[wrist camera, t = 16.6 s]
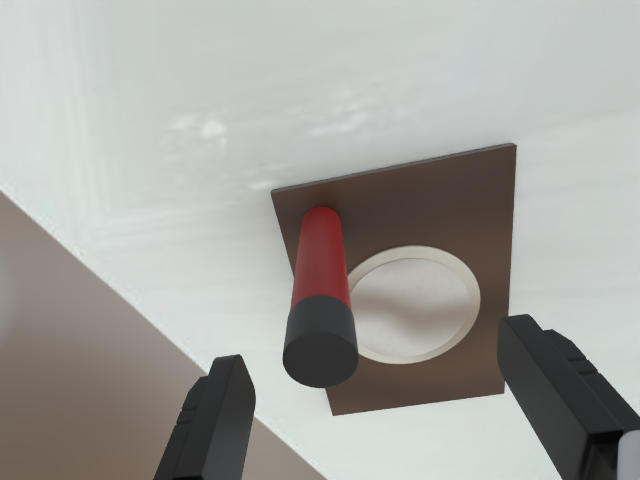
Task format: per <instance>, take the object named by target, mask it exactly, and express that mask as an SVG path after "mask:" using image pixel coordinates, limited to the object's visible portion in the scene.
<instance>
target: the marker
mask: <svg viewBox="0 0 640 480" xmlns="http://www.w3.org/2000/svg"><path fill="white" fill-rule="evenodd" d="M358 364H359V353H358V345H357V337H356V330H355V322H354V316H353V313H352V309H351V301H350V293H349V285H348V277H347V269H346V261H345V253H344V245H343V237H342V229H341V221H340V218H339V216H338V215H337V213H336V212H335V211H333V210H332V209H330V208H327V207H315V208H312V209H311V210H309V211H308V212H307V213H306V214H305V215H304V217H303V219H302V224H301V231H300V239H299V247H298V255H297V262H296V270H295V278H294V285H293V293H292V301H291V308H290V313H289V316H288V321H287V328H286V336H285V343H284V350H283V365H284V367H285V370H286V371H287V373H288V374H289V375H290V377H291V378H293V379H294V380H295V381H297V382H299V383H300V384H303V385H305V386H309V387H314V388H328V387H333V386H337V385H339V384H341V383H343V382H345V381H347V380H348V379H349V378H350V377H351V376H352V375H353V374H354V373H355V371H356V369H357V367H358Z"/></svg>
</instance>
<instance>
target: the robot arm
mask: <svg viewBox="0 0 640 480" xmlns="http://www.w3.org/2000/svg"><path fill="white" fill-rule="evenodd" d="M497 362H498V366H499V369H500V371H501V374H502V376H503V378H504V379H505V381H506V383H507V384H508V386H509V388H510V390H511V391H512V393H513V395H514V397H515V398H516V400H517V402H518V403H519V405H520V407H521V409H522V410H523V412H524V414H525V416H526V417H527V419H528V421H529V422H530V424H531V426H532V428H533V429H534V431H535V433H536V435H537V436H538V438H539V440H540V441H541V443H542V445H543V447H544V448H545V450H546V452H547V454H548V455H549V457H550V459H551V460H552V462H553V464H554V466H555V467H556V469H557V471H558V473H559V474H560V476H561V478H562V479H563V480H640V417H639V415H638V414H637V413H636V412H635V411H634V410H633V409H632V408H631V407H630V405H629V404H628V403H627V402H626V401H625V400H624V399H623V398H622V397H621V395H620V394H619V393H618V392H617V391H616V390H615V389H614V388H613V387H612V385H611V384H610V383H609V382H608V381H607V380H606V379H605V378H604V377H603V375H602V374H601V373H598V371H597V369H596V368H595V367H594V365H593V364H592V363H591V362H590V361H589V360H587V359H586V357H585V355H584V354H583V353H582V352H581V351H580V350H579V349H578V348H577V347H576V345H575V344H574V343H573V342H572V341H570V340H569V339H567V338H566V337H564V336H562V335H561V334H559V333H558V332H556V331H554V330H553V329H551V330H544V331H543V330H542V329H541V327H540V326H539V325H538V324H537V323H536V321H535V320H534V319H533V318H532V317H531V316H530V315H528V314H523V315H516V316H509V317H502V318H500V319H499V322H498V337H497ZM255 403H256V396H255V389H254V385H253V383H252V380H251V378H250V375H249V373H248V370H247V368H246V365H245V363H244V361H243V358H242V356H241V355H239V354H237V355H231V356H224V357H217V358H215V359H214V361H213V363H212V366H211V369H210V372H209V375H208V376H205V377H200V378H199V379H198V381H197V382H196V383H195V385H194V386H193V387H192V388H191V389H190V391H189V392H188V395H187V397H186V400H185V402H184V404H183V407H182V412H180V414H179V417H178V419H177V425H176V426H175V427H174V429H173V432H172V434H171V437H170V439H169V442H168V444H167V447H166V449H165V452H164V454H163V457H162V459H161V462H160V464H159V467H158V469H157V472H156V474H155V476H154V479H153V480H241V478H242V473H243V468H244V462H245V457H246V452H247V447H248V441H249V436H250V431H251V426H252V421H253V415H254V410H255Z"/></svg>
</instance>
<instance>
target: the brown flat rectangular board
mask: <svg viewBox="0 0 640 480" xmlns="http://www.w3.org/2000/svg"><path fill="white" fill-rule="evenodd" d="M516 149H517V145H515V144H513V143H509V144H504V145H499V146H494V147H488V148H483V149H478V150H473V151H468V152H463V153H458V154H453V155H448V156H443V157H438V158H433V159H428V160H422V161H417V162H412V163H407V164H402V165H397V166H392V167H387V168H382V169H377V170H372V171H367V172H362V173H356V174H351V175H346V176H341V177H336V178H331V179H326V180H321V181H316V182H311V183H306V184H301V185H296V186H290V187H285V188H280V189H275V190H272V191H271V197H272V200H273V204H274V208H275V211H276V215H277V218H278V222H279V225H280V229H281V233H282V236H283V240H284V243H285V247H286V250H287V254H288V258H289V261H290V265H291V268H292V272H293V275H294V278H295V270H296V262H297V255H298V247H299V239H300V231H301V224H302V219H303V217H304V215H305V214H306V213H307V212H308V211H309V210H311V209H312V208H315V207H327V208H330V209H332V210H333V211H335V212H336V213H337V215H338V216H339V218H340V221H341V229H342V237H343V245H344V253H345V261H346V269H347V277H348V285H349V293H350V301H351V309H352V313H353V316H354V322H355V330H356V337H357V345H358V353H359V364H358V367H357V369H356V371H355V373H354V374H353V375H352V376H351V377H350V378H349V379H348V380H347V381H345V382H343V383H341V384H339V385H337V386H333V387H328V388H325V389H326V393H327V397H328V400H329V404H330V407H331V411H332V414H333V416H337V415H344V414H352V413H359V412H367V411H375V410H382V409H390V408H397V407H405V406H413V405H420V404H428V403H435V402H443V401H451V400H458V399H466V398H473V397H481V396H489V395H496V394H504V388H505V379H504V378H503V376H502V374H501V371H500V369H499V366H498V362H497V337H498V322H499V319H500V318H502V317H508V308H509V288H510V269H511V249H512V229H513V209H514V189H515V169H516Z"/></svg>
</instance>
